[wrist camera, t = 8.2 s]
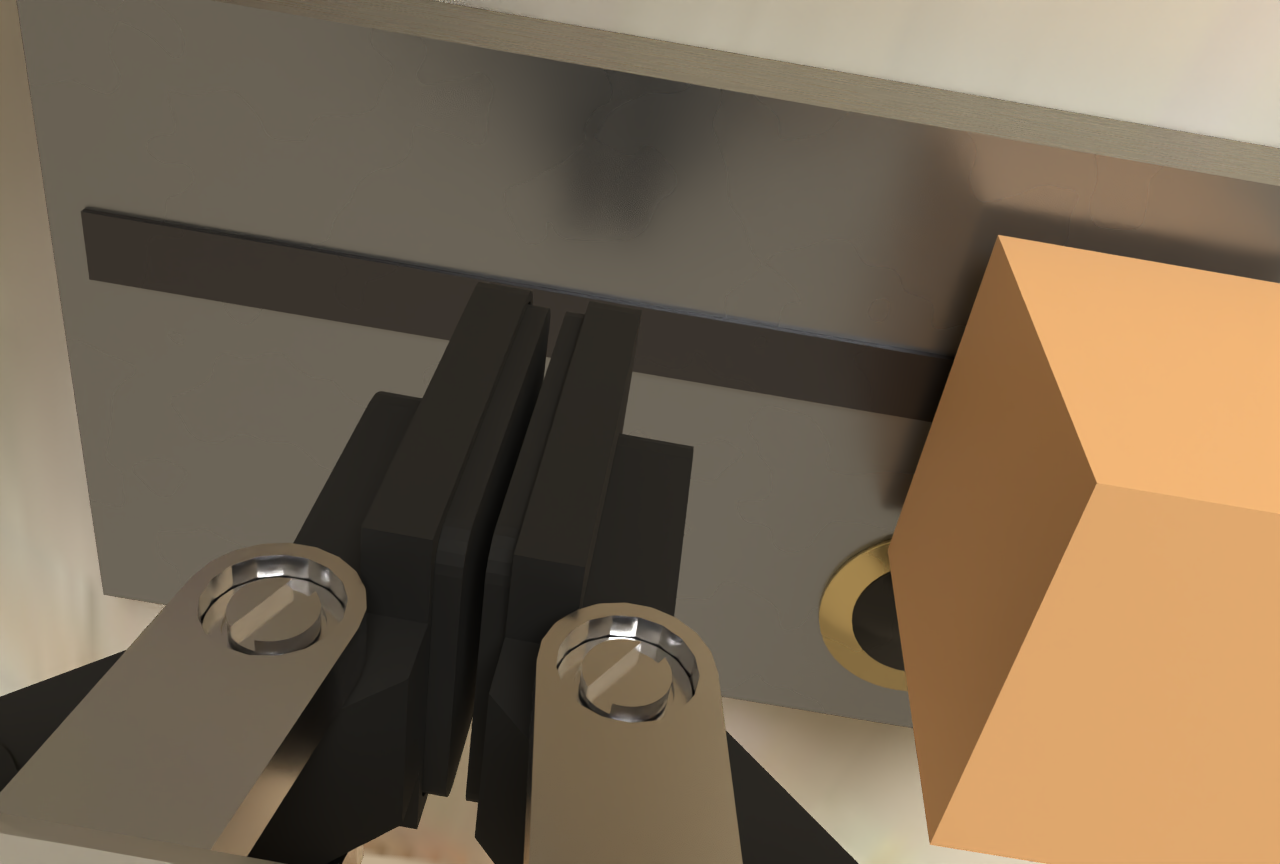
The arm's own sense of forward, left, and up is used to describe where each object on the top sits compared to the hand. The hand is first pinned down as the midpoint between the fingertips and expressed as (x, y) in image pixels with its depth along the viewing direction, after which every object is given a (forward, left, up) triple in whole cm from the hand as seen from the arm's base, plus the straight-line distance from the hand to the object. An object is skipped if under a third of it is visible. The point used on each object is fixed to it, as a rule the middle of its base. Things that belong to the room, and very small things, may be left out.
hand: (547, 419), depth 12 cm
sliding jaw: (-7, +2, -3) cm, 8 cm away
